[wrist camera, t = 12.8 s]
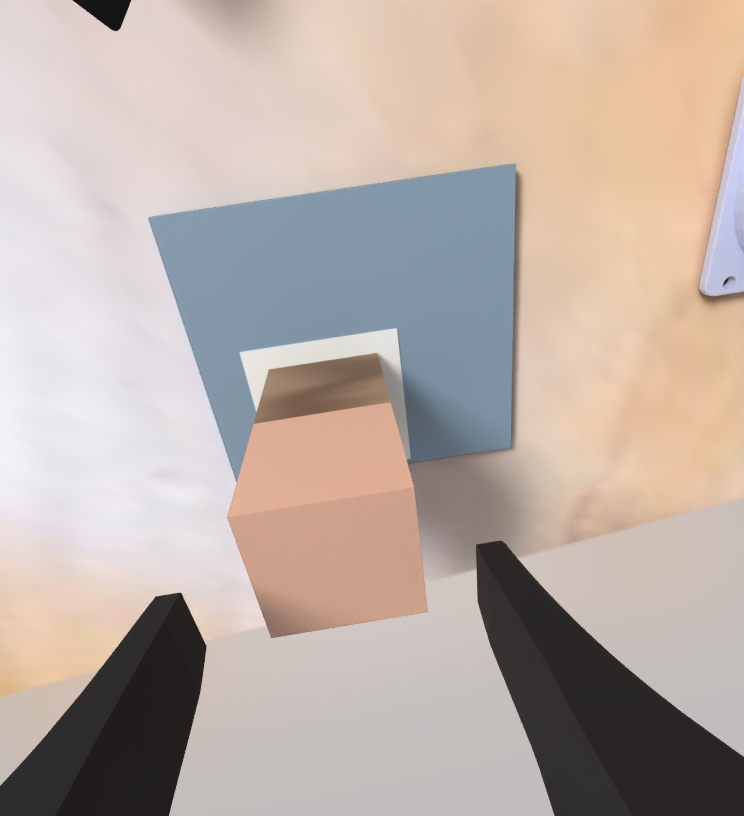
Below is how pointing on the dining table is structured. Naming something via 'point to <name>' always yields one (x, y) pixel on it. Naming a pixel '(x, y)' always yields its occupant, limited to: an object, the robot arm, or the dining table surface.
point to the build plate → (107, 11)
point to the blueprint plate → (358, 300)
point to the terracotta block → (329, 521)
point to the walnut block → (322, 388)
